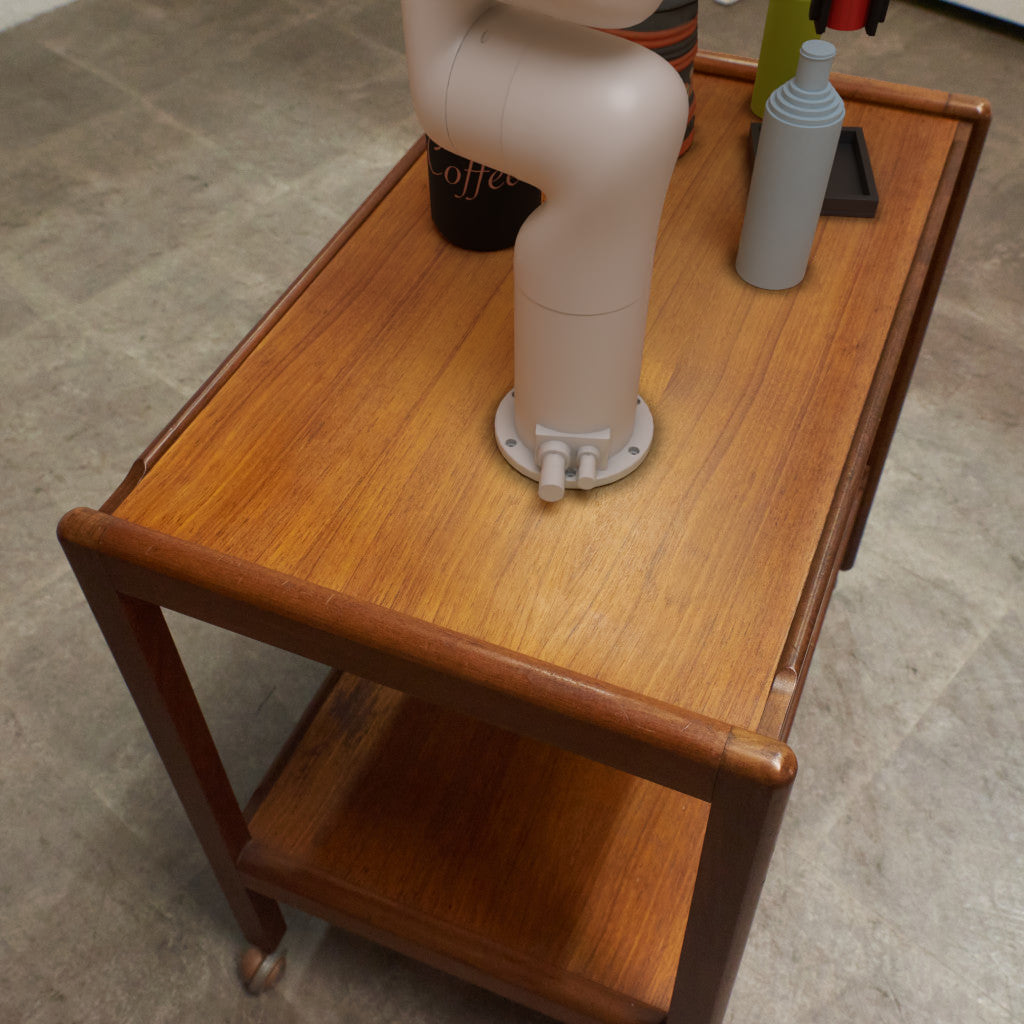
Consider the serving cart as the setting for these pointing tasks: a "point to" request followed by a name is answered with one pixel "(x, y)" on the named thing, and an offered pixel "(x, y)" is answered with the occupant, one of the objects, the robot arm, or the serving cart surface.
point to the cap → (848, 14)
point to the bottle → (791, 172)
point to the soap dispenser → (781, 48)
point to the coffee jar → (476, 201)
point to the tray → (841, 175)
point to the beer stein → (671, 45)
